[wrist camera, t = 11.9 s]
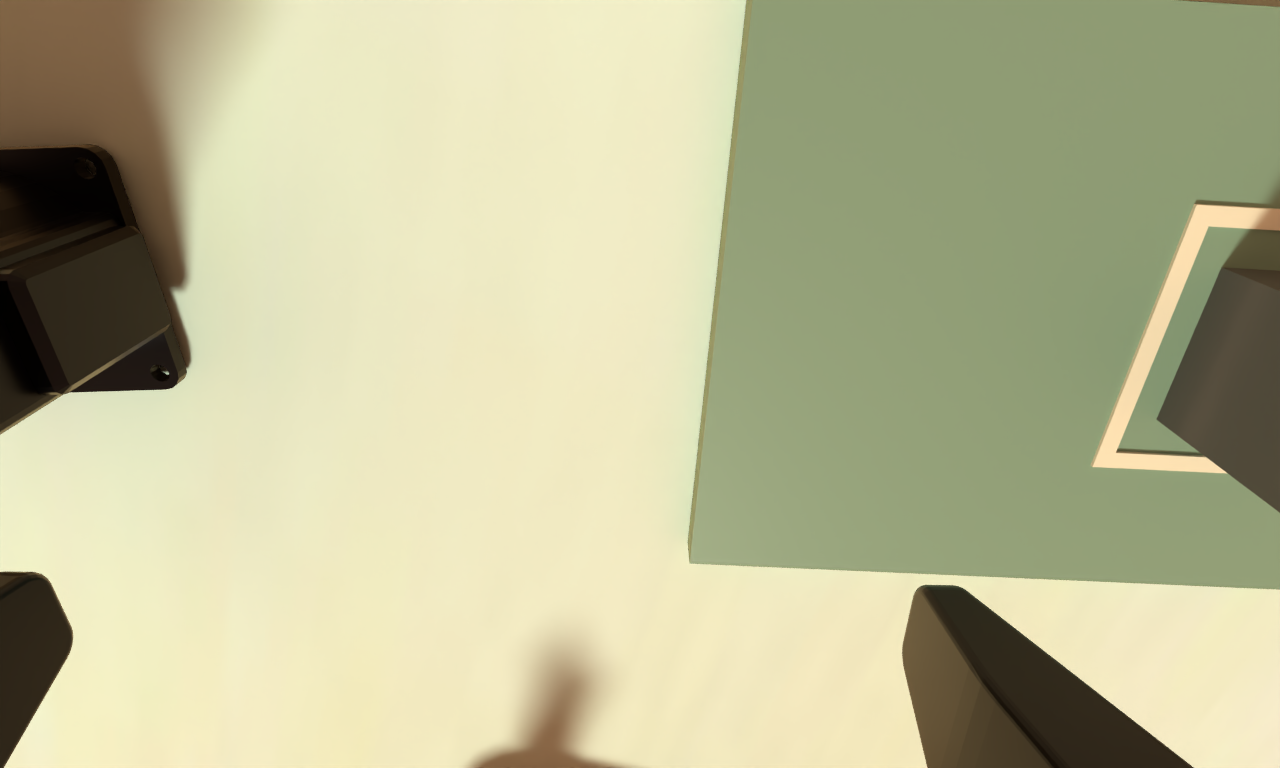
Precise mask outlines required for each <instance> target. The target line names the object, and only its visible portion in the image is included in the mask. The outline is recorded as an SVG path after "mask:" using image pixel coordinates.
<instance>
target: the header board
mask: <svg viewBox="0 0 1280 768" xmlns="http://www.w3.org/2000/svg"><path fill="white" fill-rule="evenodd" d="M1221 267H1223V268H1241V269H1258V270H1276V271H1280V7H1273V6H1258V5H1242V4H1227V3H1212V2H1197V1H1182V0H747V1H746V10H745V19H744V28H743V38H742V47H741V56H740V65H739V74H738V84H737V93H736V102H735V111H734V121H733V130H732V139H731V148H730V157H729V167H728V176H727V185H726V194H725V204H724V213H723V222H722V231H721V240H720V250H719V259H718V268H717V277H716V287H715V296H714V305H713V314H712V323H711V333H710V342H709V351H708V360H707V370H706V379H705V388H704V397H703V406H702V416H701V425H700V434H699V443H698V453H697V462H696V471H695V480H694V489H693V499H692V508H691V517H690V526H689V536H688V551H689V562H690V563H691V564H714V565H736V566H759V567H782V568H804V569H827V570H850V571H872V572H895V573H918V574H940V575H963V576H986V577H1008V578H1031V579H1054V580H1077V581H1099V582H1122V583H1145V584H1167V585H1190V586H1213V587H1235V588H1258V589H1280V513H1279V512H1278V511H1277V510H1275V509H1274V508H1273V507H1271V506H1270V505H1269V504H1267V503H1266V502H1265V501H1264V500H1262V499H1261V498H1260V497H1258V496H1257V495H1256V494H1254V493H1253V492H1252V491H1250V490H1249V489H1248V488H1246V487H1245V486H1244V485H1242V484H1241V483H1240V482H1238V481H1237V480H1236V479H1234V478H1233V477H1232V476H1230V475H1229V474H1228V473H1226V472H1225V471H1224V470H1222V469H1221V468H1220V467H1218V466H1217V465H1216V464H1214V463H1213V462H1212V461H1210V460H1209V459H1208V458H1207V457H1205V456H1204V455H1203V454H1201V453H1200V452H1199V451H1197V450H1196V449H1195V448H1193V447H1192V446H1191V445H1189V444H1188V443H1187V442H1185V441H1184V440H1183V439H1181V438H1180V437H1179V436H1177V435H1176V434H1175V433H1173V432H1172V431H1171V430H1169V429H1168V428H1167V427H1165V426H1164V425H1163V424H1161V423H1160V422H1159V421H1157V420H1156V419H1157V417H1158V414H1159V412H1160V410H1161V407H1162V405H1163V403H1164V400H1165V398H1166V396H1167V393H1168V391H1169V389H1170V386H1171V384H1172V382H1173V379H1174V377H1175V375H1176V372H1177V370H1178V368H1179V365H1180V363H1181V361H1182V358H1183V356H1184V354H1185V351H1186V349H1187V347H1188V344H1189V342H1190V340H1191V337H1192V335H1193V333H1194V330H1195V328H1196V326H1197V323H1198V321H1199V319H1200V316H1201V314H1202V312H1203V309H1204V307H1205V305H1206V302H1207V300H1208V298H1209V295H1210V293H1211V291H1212V288H1213V286H1214V284H1215V281H1216V279H1217V277H1218V274H1219V272H1220V270H1221Z"/></svg>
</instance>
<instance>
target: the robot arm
mask: <svg viewBox="0 0 1280 768" xmlns="http://www.w3.org/2000/svg"><path fill="white" fill-rule="evenodd" d="M86 159H88V160H90V161H91V162H92V163H93V164H94V166H95V167H96V175H94V174H92V173H91V172H90V171H89V170H88V168H87V167H86V161H85V160H86ZM171 321H172V320H171V317H170V314H169V311H168V308H167V305H166V302H165V299H164V296H163V293H162V290H161V287H160V285H159V282H158V279H157V276H156V273H155V270H154V267H153V264H152V261H151V258H150V255H149V253H148V250H147V247H146V244H145V241H144V238H143V236H142V234H141V233H140V232H139V229H138V226H137V223H136V220H135V217H134V214H133V212H132V209H131V206H130V203H129V200H128V197H127V194H126V191H125V188H124V185H123V183H122V180H121V177H120V174H119V171H118V168H117V165H116V163H115V161H114V160H113V158H112V156H111V155H110V154H109V153H108V152H107V151H106V150H104V149H102V148H100V147H98V146H95V145H61V146H33V147H5V148H0V434H2V433H3V432H5V431H7V430H8V429H10V428H11V427H13V426H14V425H16V424H18V423H19V422H21V421H22V420H24V419H25V418H27V417H29V416H30V415H32V414H33V413H35V412H37V411H38V410H40V409H41V408H43V407H44V406H46V405H48V404H49V403H51V402H52V401H54V400H55V399H57V398H59V397H60V396H62V395H63V394H66V393H69V392H97V391H130V390H162V389H170V388H173V387H174V386H175V385H177V384H178V383H179V382H180V381H182V380H183V379H184V378H185V376H186V373H187V371H186V365H185V362H184V359H183V356H182V354H181V351H180V348H179V345H178V342H177V339H176V336H175V333H174V330H173V327H172V325H171ZM159 365H161V366H163V367H165V368H166V369H167V370H168V372H169V375H166V374H165V373H163V372H162V371H161V369H160V368H159ZM72 644H73V630H72V627H71V625H70V623H69V621H68V619H67V616H66V614H65V612H64V610H63V608H62V606H61V604H60V602H59V599H58V597H57V595H56V593H55V591H54V589H53V587H52V584H51V583H50V581H49V580H48V579H47V578H46V577H45V576H43V575H42V574H39V573H36V572H0V768H4V766H5V765H6V763H7V761H8V759H9V758H10V756H11V754H12V752H13V751H14V749H15V747H16V746H17V744H18V742H19V740H20V739H21V737H22V735H23V733H24V732H25V730H26V728H27V727H28V725H29V723H30V721H31V720H32V718H33V716H34V714H35V713H36V711H37V709H38V707H39V706H40V704H41V702H42V701H43V699H44V697H45V695H46V694H47V692H48V690H49V688H50V687H51V685H52V683H53V682H54V680H55V678H56V676H57V675H58V673H59V671H60V669H61V668H62V666H63V664H64V662H65V661H66V659H67V657H68V655H69V653H70V651H71V647H72ZM902 656H903V666H904V671H905V675H906V679H907V683H908V688H909V692H910V696H911V700H912V704H913V709H914V713H915V717H916V721H917V726H918V730H919V734H920V738H921V742H922V747H923V751H924V755H925V759H926V764H927V768H1193V767H1192V766H1191V765H1190V764H1188V763H1187V762H1186V761H1184V760H1183V759H1182V758H1181V757H1179V756H1178V755H1177V754H1175V753H1174V752H1173V751H1172V750H1170V749H1169V748H1168V747H1167V746H1165V745H1164V744H1163V743H1161V742H1160V741H1159V740H1158V739H1156V738H1155V737H1154V736H1152V735H1151V734H1150V733H1149V732H1147V731H1146V730H1145V729H1143V728H1142V727H1141V726H1140V725H1138V724H1137V723H1136V722H1134V721H1133V720H1132V719H1131V718H1129V717H1128V716H1127V715H1125V714H1124V713H1123V712H1122V711H1120V710H1119V709H1118V708H1116V707H1115V706H1114V705H1113V704H1111V703H1110V702H1109V701H1107V700H1106V699H1105V698H1104V697H1102V696H1101V695H1100V694H1098V693H1097V692H1096V691H1095V690H1093V689H1092V688H1091V687H1089V686H1088V685H1087V684H1086V683H1084V682H1083V681H1082V680H1080V679H1079V678H1078V677H1077V676H1075V675H1074V674H1073V673H1072V672H1070V671H1069V670H1068V669H1066V668H1065V667H1064V666H1063V665H1061V664H1060V663H1059V662H1057V661H1056V660H1055V659H1054V658H1052V657H1051V656H1050V655H1048V654H1047V653H1046V652H1045V651H1043V650H1042V649H1041V648H1039V647H1038V646H1037V645H1036V644H1034V643H1033V642H1032V641H1030V640H1029V639H1028V638H1027V637H1025V636H1024V635H1023V634H1021V633H1020V632H1019V631H1018V630H1016V629H1015V628H1014V627H1012V626H1011V625H1010V624H1009V623H1007V622H1006V621H1005V620H1003V619H1002V618H1001V617H1000V616H998V615H997V614H996V613H994V612H993V611H992V610H991V609H989V608H988V607H987V606H986V605H984V604H983V603H982V602H980V601H979V600H978V599H977V598H975V597H974V596H973V595H971V594H970V593H969V592H968V591H966V590H965V589H963V588H961V587H959V586H953V585H923V586H921V587H919V588H918V589H917V590H916V592H915V594H914V596H913V600H912V605H911V609H910V614H909V618H908V623H907V627H906V632H905V636H904V641H903V649H902Z"/></svg>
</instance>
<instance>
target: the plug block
mask: <svg viewBox="0 0 1280 768" xmlns="http://www.w3.org/2000/svg"><path fill="white" fill-rule="evenodd" d="M1156 420H1157V421H1159V422H1160V423H1161V424H1163V425H1164V426H1165V427H1167V428H1168V429H1169V430H1171V431H1172V432H1173V433H1175V434H1176V435H1177V436H1179V437H1180V438H1181V439H1183V440H1184V441H1185V442H1187V443H1188V444H1189V445H1191V446H1192V447H1193V448H1195V449H1196V450H1197V451H1199V452H1200V453H1201V454H1203V455H1204V456H1205V457H1207V458H1208V459H1209V460H1210V461H1212V462H1213V463H1214V464H1216V465H1217V466H1218V467H1220V468H1221V469H1222V470H1224V471H1225V472H1226V473H1228V474H1229V475H1230V476H1232V477H1233V478H1234V479H1236V480H1237V481H1238V482H1240V483H1241V484H1242V485H1244V486H1245V487H1246V488H1248V489H1249V490H1250V491H1252V492H1253V493H1254V494H1256V495H1257V496H1258V497H1260V498H1261V499H1262V500H1264V501H1265V502H1266V503H1267V504H1269V505H1270V506H1271V507H1273V508H1274V509H1275V510H1277V511H1278V512H1279V513H1280V271H1276V270H1258V269H1241V268H1223V267H1221V270H1220V272H1219V274H1218V277H1217V279H1216V281H1215V284H1214V286H1213V288H1212V291H1211V293H1210V295H1209V298H1208V300H1207V302H1206V305H1205V307H1204V309H1203V312H1202V314H1201V316H1200V319H1199V321H1198V323H1197V326H1196V328H1195V330H1194V333H1193V335H1192V337H1191V340H1190V342H1189V344H1188V347H1187V349H1186V351H1185V354H1184V356H1183V358H1182V361H1181V363H1180V365H1179V368H1178V370H1177V372H1176V375H1175V377H1174V379H1173V382H1172V384H1171V386H1170V389H1169V391H1168V393H1167V396H1166V398H1165V400H1164V403H1163V405H1162V407H1161V410H1160V412H1159V414H1158V417H1157V419H1156Z"/></svg>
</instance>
